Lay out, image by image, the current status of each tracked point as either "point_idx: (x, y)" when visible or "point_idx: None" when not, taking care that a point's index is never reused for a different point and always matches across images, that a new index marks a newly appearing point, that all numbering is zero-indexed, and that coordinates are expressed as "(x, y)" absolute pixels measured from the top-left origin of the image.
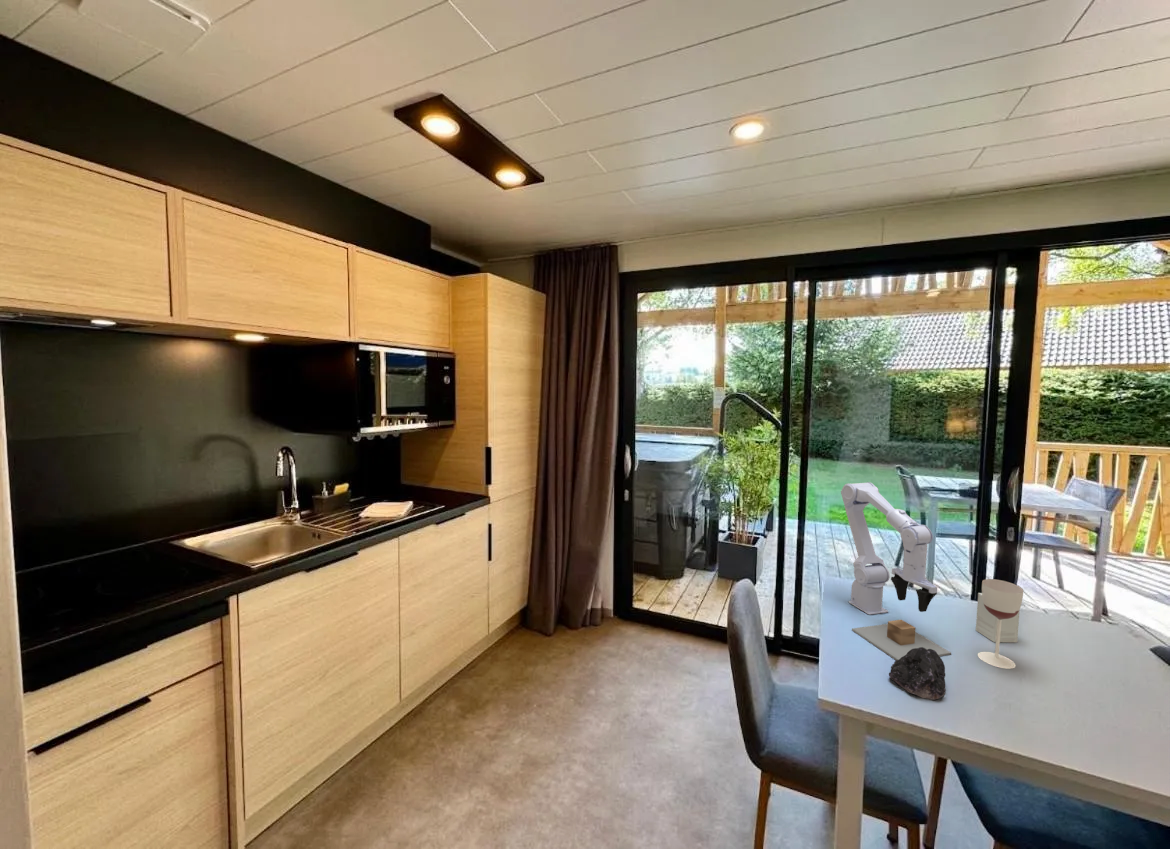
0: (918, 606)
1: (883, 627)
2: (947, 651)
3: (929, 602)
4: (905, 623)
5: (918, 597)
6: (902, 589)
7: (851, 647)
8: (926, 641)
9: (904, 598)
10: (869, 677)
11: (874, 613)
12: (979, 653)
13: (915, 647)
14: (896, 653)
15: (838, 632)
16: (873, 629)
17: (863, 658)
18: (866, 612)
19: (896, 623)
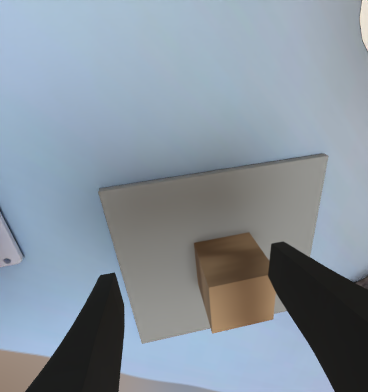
0: (285, 306)
1: (140, 267)
2: (318, 163)
3: (348, 283)
4: (241, 289)
5: (339, 389)
6: (107, 378)
7: (218, 359)
8: (249, 186)
9: (114, 285)
10: (310, 362)
11: (12, 239)
12: (364, 26)
13: (268, 243)
14: (275, 301)
15: (149, 363)
16: (152, 299)
17: (260, 353)
18: (9, 265)
19: (233, 316)
